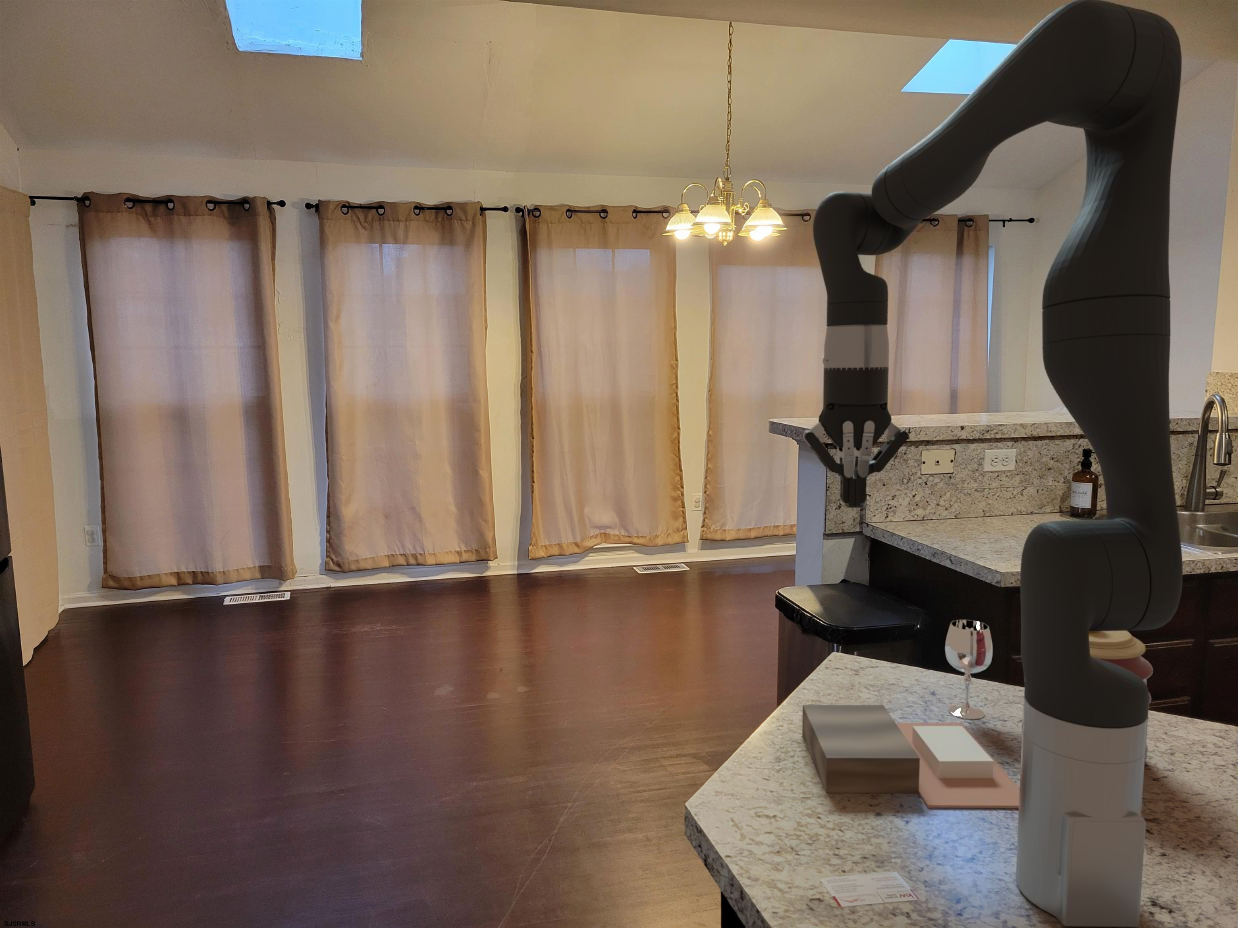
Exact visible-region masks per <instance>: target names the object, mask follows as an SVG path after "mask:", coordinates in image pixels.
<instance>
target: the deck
mask: <svg viewBox="0 0 1238 928" xmlns="http://www.w3.org/2000/svg"><path fill="white" fill-rule="evenodd" d="M801 721H802V725H801V727H802V728H801V730H802V739H803V741H804V743H805V746H806V748H807V750H808V752H809V755H810V758H811V760H812V762H813V765H814V767H815V769H816V772H817V775H818V776H819V779H820V782H821V783H822V786H823V789H824V791H825V793H826V794H827V793H829V794H831V793H833V794H835V793H836V794H837V793H839V794H845V793H846V794H851V793H852V794H874V793H875V794H919V769H920V758H919V756H918V755H917V753H916V752H915V750H914V749H913V748H912V746H911V745H910V743H909V742H908V740H907V739H906V737H905V736H904V734H903V733H902V732H901V730H900V729H899V727H898V726H897V724H896V723H897V722H896V721H895V720H894V718H893V717H892V715H891V714H890V713H889V711H888V710H887V708H886V707H885V706H884V705H883V704H802V720H801Z"/></svg>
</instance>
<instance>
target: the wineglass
mask: <svg viewBox="0 0 1238 928" xmlns="http://www.w3.org/2000/svg"><path fill="white" fill-rule="evenodd" d="M991 635H992V634H991V630H990V627H989V625H988V624H986V623H985V622H981V621H979V620H978V621H977V620H971V619H956V620H952V621H951V622H950V624H949V627H948V631H947V634H946V637H945V638H946V639H945V646H944V651H945V657H946V660H947V662H948V663H949V665H950V666H952V667H953V668H954V669H956V670H957V671H959V672H962V673H964V675H963V679H962V680H963V685H964V701H963V704H954V705H951V706H949V707H948V709H947V711H948V712H949V714H951V715H952V716H955V717H957V718H959V719H960V718H961V719H965V720H980V719H983V718H984V717H985V712H984V711H983V710H982V709H980V708H978V707H975V706H971V705H970V701H969V697H970V696H969V695H970V694H969V693H970V687H971V684H972V675H971V674H977V673H981V672H982V671H984V670H986V669H987V668H988V667H989V666H990V665H991V663H992V658H993V649H994V647H993V641H992V636H991Z"/></svg>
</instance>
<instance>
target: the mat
mask: <svg viewBox="0 0 1238 928" xmlns="http://www.w3.org/2000/svg"><path fill="white" fill-rule="evenodd" d="M895 723H896V724H897V726H898V727H899V729H900V730H901V732H902V733H903V734H904V736H905V737H906V739H907V740H908V742H909V743H910V745H911V746H912V748H913V749H914V750H915V752H916V753H917V755H918V756H919V758H920V769H919V793H918V795H920V797H921V800H923V802H924V803H925V804H924V805H926V807H927V808H928V809H1019V792H1020V786H1018V785H1017V784H1016V782H1014V780H1012V778H1011V777H1010V776H1009V775H1008V773H1007V772H1006V771H1005V770H1004V769H1003V768H1002V767H1001V765H1000V764H999V763H998V762H997V761H996V759H994V757H993V756H992V755H991V754H990V753H989V752H988V751H987V750H986V749H985V747H984V746H983V745H982V744H981V742H980V741H979V740H978V739H977V738H976V737H975V735H974V734H972V732H971V731H970V730H969V729H968V728H967V727H966V726H965V724H964V723H963V722H895ZM913 726H963V727H964V729H965V730H966V731H967V732H968V733H969V734H970V735H971V736H972V737H973V739H974V740H975V741H976V742H977V743H978V744H979V745H980V746H981V748H982V749H983V750H984V751H985V752H986V753H987V754H988V755H989V756H990V758H991V759H992V760H993V761H994V765H993V778H938V776H937V775H936V774H935V772H934V771H933V770H932V768H931V767H930V765H929V764H928V763H927V761H926V760H925V759H924V757H923V756H922V754H921V753H920V752H919V750H918V749H917V748H916V746H915V745H914V743H913V742H912V731H913Z"/></svg>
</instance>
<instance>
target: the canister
mask: <svg viewBox="0 0 1238 928" xmlns="http://www.w3.org/2000/svg"><path fill="white" fill-rule="evenodd" d="M1089 646H1090V655H1091V656H1092V657H1095V658H1098V659H1101V660H1104V661H1107V662H1110V663H1113V664H1116V665H1118V666H1121V667H1123V668H1125V669H1127V670H1129V671H1131V672H1133V673H1134V674H1136V675H1137V676H1139V677H1140V678H1141V679H1142V680H1143V681H1144V682H1145V684H1146V685H1147V679H1148V678H1150V677H1151V676H1152V675H1153V672H1154V669H1153V666H1152V664H1151V663H1150V662H1149V661H1148V660H1147V659H1145V658H1144V657H1142V655H1144V654H1145V652H1146V645H1145V644H1144V643H1143V642H1142V641H1141V640H1140V639H1138V638H1136V637H1134V636H1133V635H1132V634H1131V633H1130V632H1129V631H1089ZM1023 681H1024V683H1025V679H1024V678H1023ZM1151 701H1152V696H1151V693H1150V692H1149V704H1151ZM1148 711H1149V708H1148ZM1148 721H1149V716H1148V717H1147V726H1148V725H1149V722H1148ZM1022 729H1023V722H1022V725H1021V730H1022ZM1147 736H1148V733H1147V734H1146V741H1147V739H1148V738H1147ZM1148 750H1149V749H1148V744H1147V743H1146V749H1145V761H1144V764H1145V763H1146V761H1147V759H1148Z"/></svg>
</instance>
